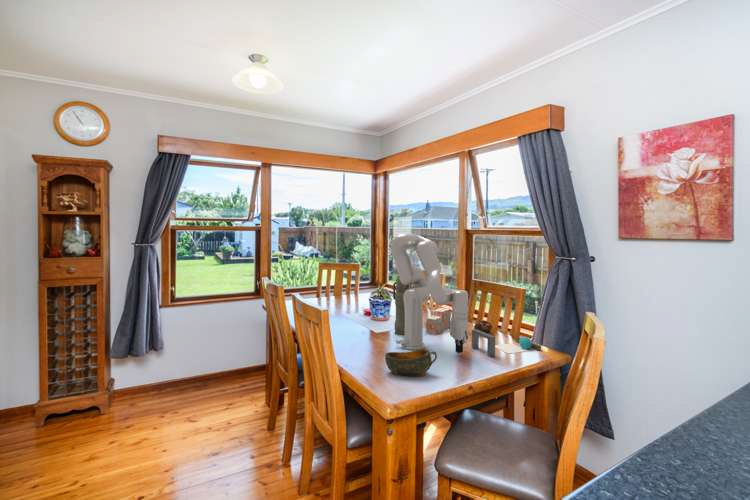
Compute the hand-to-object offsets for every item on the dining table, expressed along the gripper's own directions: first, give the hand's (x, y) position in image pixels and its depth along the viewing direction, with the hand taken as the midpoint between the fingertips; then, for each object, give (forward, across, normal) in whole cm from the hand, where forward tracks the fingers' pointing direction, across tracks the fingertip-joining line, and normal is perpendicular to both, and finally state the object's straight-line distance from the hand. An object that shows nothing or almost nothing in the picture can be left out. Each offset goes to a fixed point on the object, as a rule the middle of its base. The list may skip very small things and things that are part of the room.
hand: (459, 352), depth 182 cm
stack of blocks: (+2, -44, +14) cm, 46 cm away
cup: (+2, +13, -33) cm, 36 cm away
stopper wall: (+2, 0, +43) cm, 43 cm away
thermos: (+2, -45, -10) cm, 46 cm away
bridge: (+2, 0, +14) cm, 14 cm away
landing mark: (+2, 0, +31) cm, 31 cm away
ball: (-2, +3, +38) cm, 38 cm away
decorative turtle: (+2, -28, +35) cm, 45 cm away
